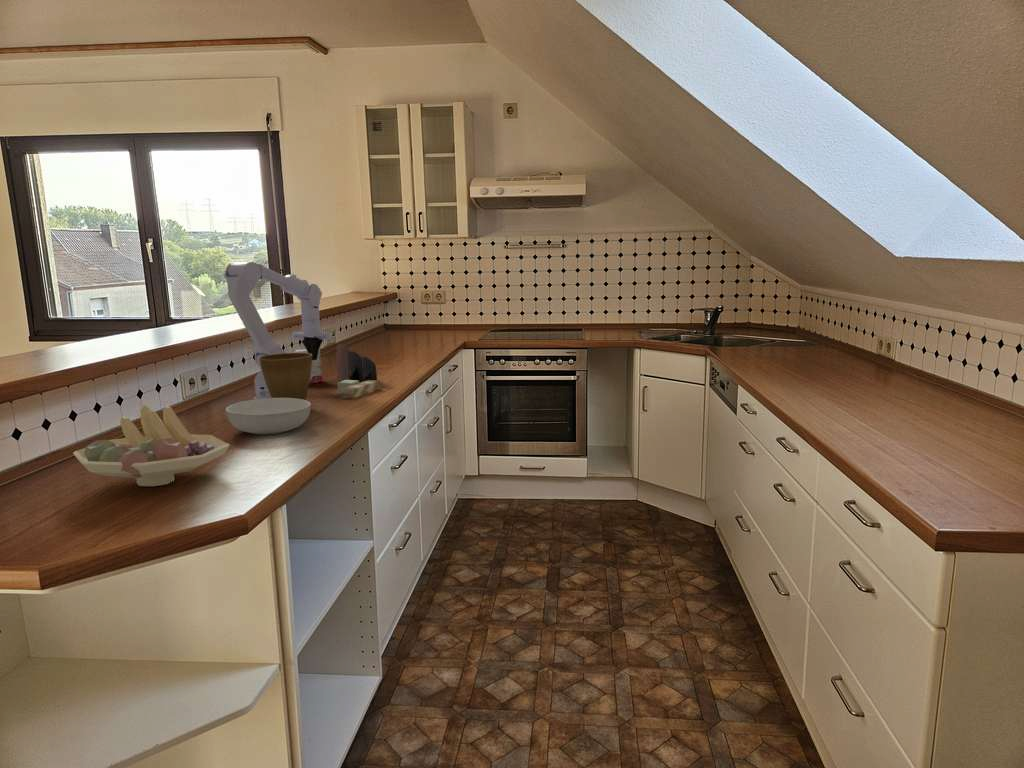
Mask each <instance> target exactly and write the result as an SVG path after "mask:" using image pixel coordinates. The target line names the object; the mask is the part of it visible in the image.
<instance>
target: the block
mask: <svg viewBox="0 0 1024 768" xmlns="http://www.w3.org/2000/svg"><path fill="white" fill-rule="evenodd" d="M358 383H359V381H358V380H344V381H341V382H340V381H338V382H337V395H342V392H341V389H342V388H345V387H348V386H352V385H355V384H358Z"/></svg>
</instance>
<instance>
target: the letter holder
mask: <svg viewBox="0 0 1024 768" xmlns="http://www.w3.org/2000/svg"><path fill="white" fill-rule="evenodd" d="M336 350H337V351H336V353H337V354H336V361H337V362H336V364H337V366H336V367H337V368H336V369H337V380H338V382H340V381H344V380H358V381H359V383H361V382H364V381H367V380H377V381H378V375H377V365H376V364H375V361H373V360H372V359H371V358H370V357H367V356H361V355H360V353H359V352H357V351H355V350H351V351H350V349H349V348H348V347H347V346H346V345H344V344H343V343H339V344H337V345H336Z"/></svg>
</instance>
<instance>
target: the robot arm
mask: <svg viewBox="0 0 1024 768" xmlns="http://www.w3.org/2000/svg"><path fill="white" fill-rule="evenodd" d="M223 276H224V279H225V280H226V284H227V291H228V298H229V300H230V302H231V304H232V306H233V308H234V309H235V311H236V313H237V315H238V316H239V319H240V320H241V322H242V324H243V326H244V328H245V330H246V331H247V333H248V335H249V337H250V339H251V340H252V342H253V344H254V347H253V349H252V352H253V354H254V361H255V363H256V365H257V366H258V367H259V370H260V372H258V373H257V374H256V375H255V377H254V382H253V383H254V392H255V397H253V400H255V399H264V398H271V395H270V393H269V390H268V388H267V385H266V382H265V379H264V376H263V372H262V368H261V365H260V360H259V358H260V357H262V356H267V355H273V354H283V353H287V351H285V349H283V348H282V346H281V345H280V344H279V343H278V342H276V341H275V340H274V339H273V337H272V336H271V334H270V333H269V331H268V330H269V329H268V328H267V326H266V325H265V323H264V321H263V320H262V317H261V316H260V313H259V312H258V310H257V308H256V306H255V303H254V302H253V300H252V298H251V296H250V295H251V293H252V291H253V290H254V288H255V287H256V286H257V285H258V283H259V282H260V280H263V281H266V282H269V283H272V284H274V285H277V286H280V289H281V291H282V292H285V293H287V294H290V295H292V296H294V297H296V298H297V299H298V300H299V301H300V309H301V311H300V312H301V325H302V331H294V332H291V334H292V336H291V337H292V339H302V340H301V343H302V344H303V346H304V348H305V350H307V352H308V353H310V354H312V360H317V356H318V351H319V349H320V348H321V345H322V344H323V341H324V340H332V339H333V334H332V332H323V331H321V322H320V321H321V320H320V304H321V303H320V300H321V298H322V295H323V291H321V288H320V287H319V286H318V284H315V283H309V282H308V280H306V279H300V278H299V277H297V275H296V274H294V273H292V274H286V275H282V274H280V273H279V272H276V271H275V270H272V269H271V268H269V267H266V266H264V265H263V264H260V263H257V262H254V261H247V262H244V261H243V262H242V261H240V262H238V261H232V262H230V263H228V265H227V266H226V269H225V271H224V274H223Z"/></svg>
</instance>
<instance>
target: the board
mask: <svg viewBox="0 0 1024 768" xmlns="http://www.w3.org/2000/svg"><path fill="white" fill-rule="evenodd" d="M378 389H379V390H380V380H378V379H377V380H367V381H364V382H361V383H358V384H355V385H352V386H348V387H345V388H342V389H341V392H342V394H341V399H348V398H353V399H356V398H359V397H362V396H364V395H368V394H370V393H373V392H376V391H378ZM375 390H376V391H375ZM367 393H368V394H367ZM361 395H362V396H361ZM358 396H359V397H358ZM355 397H356V398H355Z"/></svg>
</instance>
